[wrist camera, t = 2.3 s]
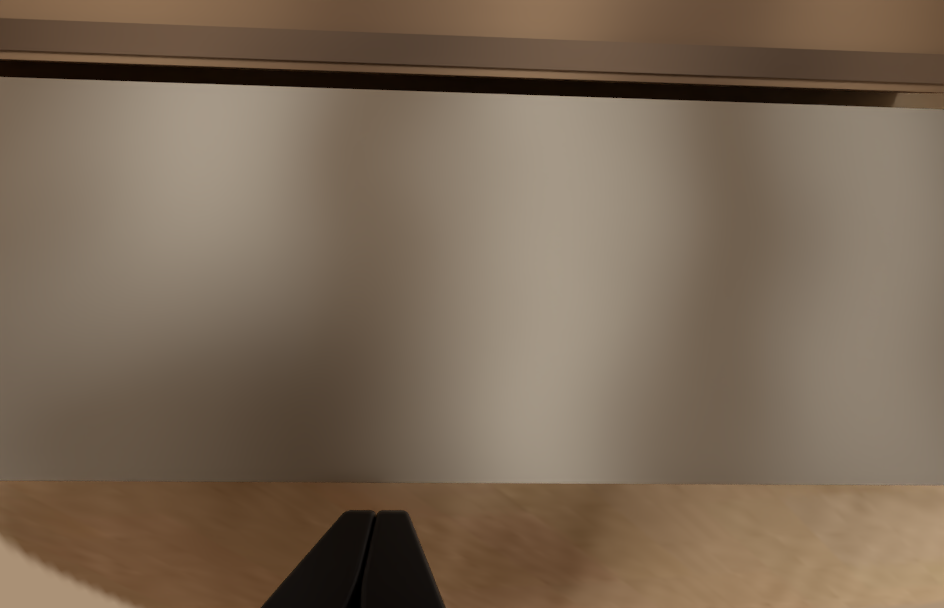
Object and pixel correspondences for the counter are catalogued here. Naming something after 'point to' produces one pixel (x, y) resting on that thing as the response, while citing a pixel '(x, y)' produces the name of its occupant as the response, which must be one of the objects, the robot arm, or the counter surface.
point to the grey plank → (466, 287)
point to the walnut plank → (505, 39)
